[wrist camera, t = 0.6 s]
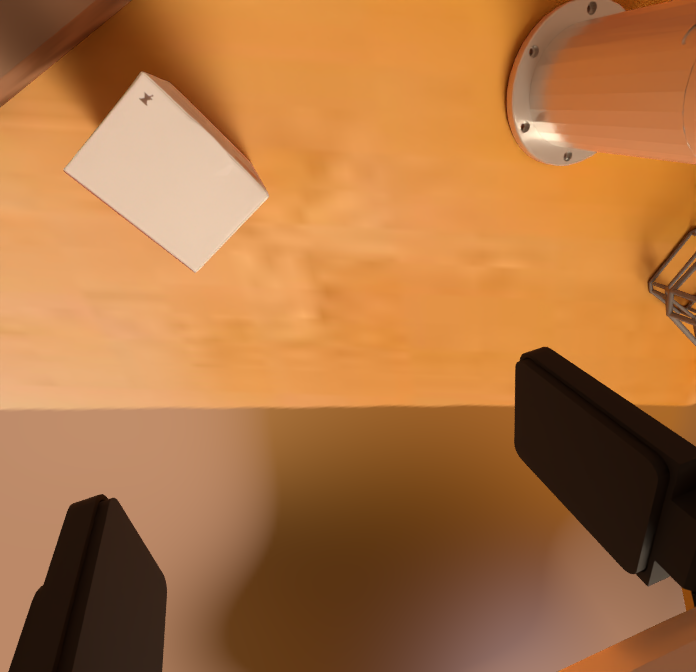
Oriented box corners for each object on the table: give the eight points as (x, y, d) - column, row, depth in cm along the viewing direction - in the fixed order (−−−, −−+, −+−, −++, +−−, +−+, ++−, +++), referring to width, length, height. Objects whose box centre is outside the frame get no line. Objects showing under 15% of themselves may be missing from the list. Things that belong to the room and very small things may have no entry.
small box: (110, 146, 33) (56, 168, 22) (167, 78, 32) (141, 65, 21) (202, 223, 37) (196, 276, 25) (254, 165, 36) (273, 193, 25)
